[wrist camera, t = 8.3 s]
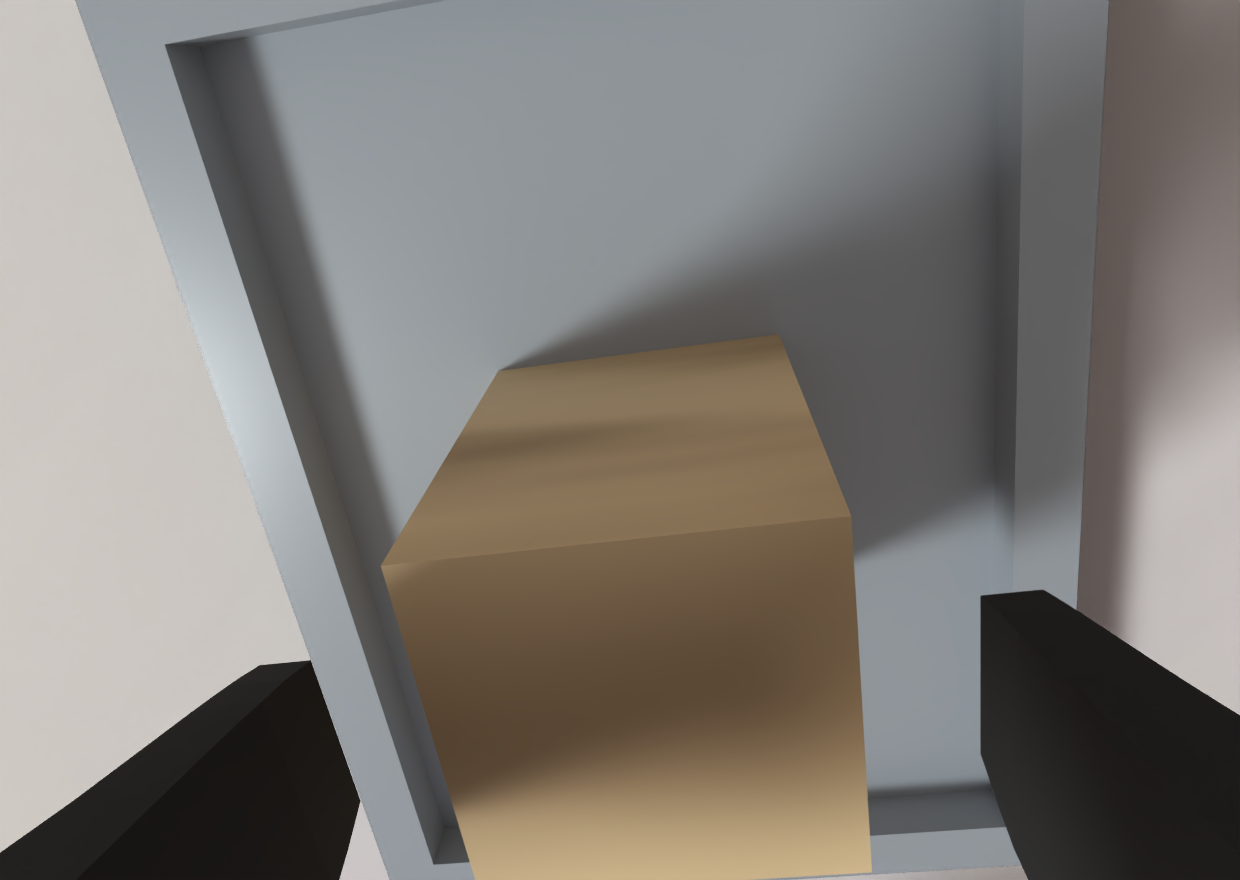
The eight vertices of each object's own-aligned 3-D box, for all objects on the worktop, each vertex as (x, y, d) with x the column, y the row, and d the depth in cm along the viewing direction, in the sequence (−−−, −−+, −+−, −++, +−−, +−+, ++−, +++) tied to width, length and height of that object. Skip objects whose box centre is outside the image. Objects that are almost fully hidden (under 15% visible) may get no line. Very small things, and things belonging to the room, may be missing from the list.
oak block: (800, 580, 15) (872, 872, 10) (549, 605, 16) (480, 895, 10) (778, 333, 13) (852, 516, 8) (498, 370, 14) (381, 565, 8)
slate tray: (1032, 800, 17) (1062, 862, 16) (418, 843, 19) (397, 903, 18) (1066, -200, 11) (1121, -239, 10) (132, -15, 12) (65, -26, 11)
